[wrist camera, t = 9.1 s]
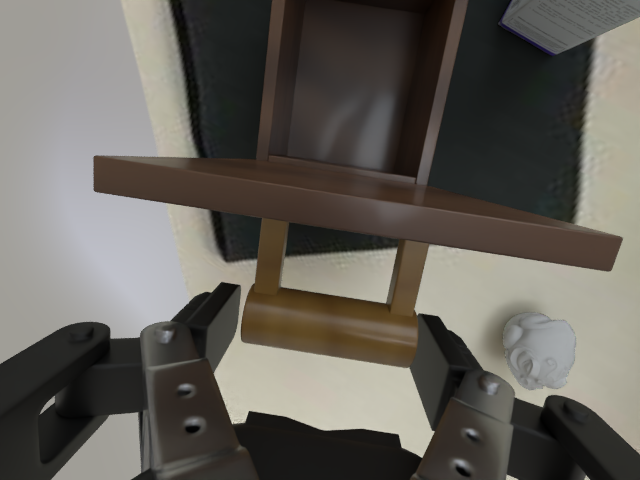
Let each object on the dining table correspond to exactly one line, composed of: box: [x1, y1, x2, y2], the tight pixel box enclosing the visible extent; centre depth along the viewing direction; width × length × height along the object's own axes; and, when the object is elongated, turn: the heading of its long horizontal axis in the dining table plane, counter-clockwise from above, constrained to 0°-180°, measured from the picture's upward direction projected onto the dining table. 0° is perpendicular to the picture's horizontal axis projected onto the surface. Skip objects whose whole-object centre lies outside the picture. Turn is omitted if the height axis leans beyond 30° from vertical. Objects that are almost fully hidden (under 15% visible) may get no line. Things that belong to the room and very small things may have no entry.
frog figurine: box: [502, 312, 576, 390], centre depth 32 cm, size 6×7×7 cm
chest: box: [256, 0, 468, 186], centre depth 26 cm, size 15×12×10 cm
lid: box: [94, 156, 623, 368], centre depth 15 cm, size 15×12×5 cm
